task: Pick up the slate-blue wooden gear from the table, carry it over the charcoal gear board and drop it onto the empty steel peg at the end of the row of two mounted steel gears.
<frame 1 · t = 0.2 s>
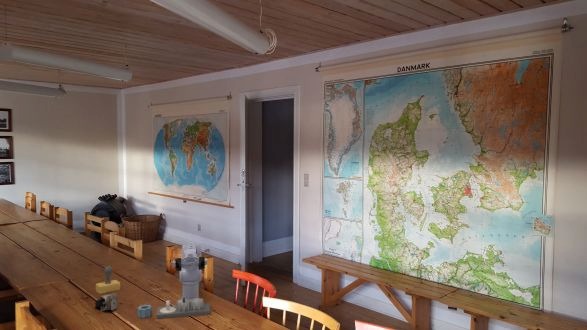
hand: (189, 268, 176), 21 cm above the table, tool horizontal, fingers open, 7 cm apart
rubber stamp: (108, 290, 210), on the table
slate gear: (144, 315, 180), on the table
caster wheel: (105, 308, 187), on the table
gear board: (183, 312, 184), on the table
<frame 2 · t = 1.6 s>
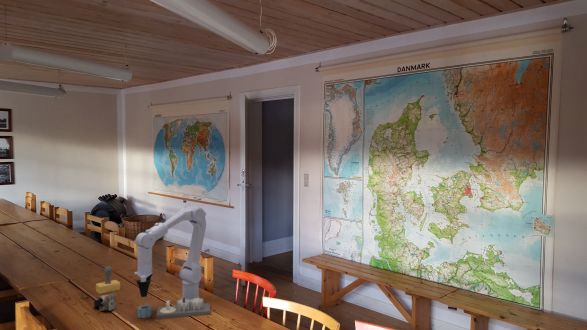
hand: (144, 293, 179), 9 cm above the table, tool pointing down, fingers open, 7 cm apart
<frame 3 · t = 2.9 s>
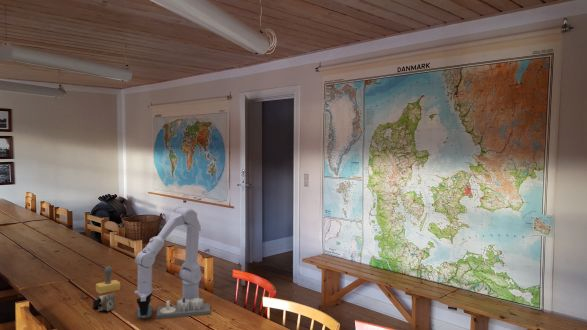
hand: (144, 312, 180), 1 cm above the table, tool pointing down, fingers closed on slate gear, 6 cm apart
slate gear: (144, 315, 180), on the table, touching gripper
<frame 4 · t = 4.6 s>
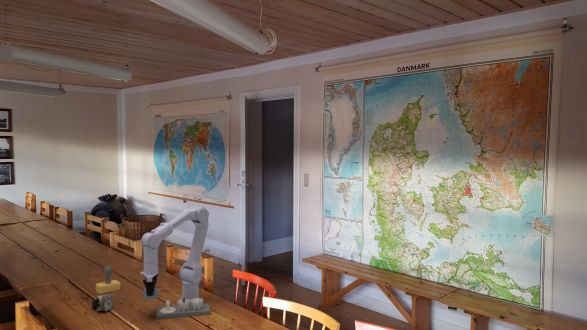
hand: (150, 293, 180), 9 cm above the table, tool pointing down, fingers closed on slate gear, 6 cm apart
slate gear: (150, 296, 180), point 8 cm above the table, touching gripper
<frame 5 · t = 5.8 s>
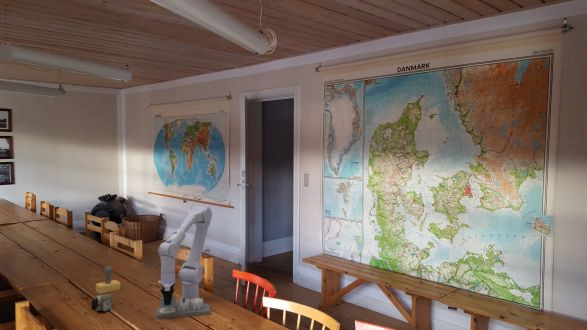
hand: (167, 302, 182), 5 cm above the table, tool pointing down, fingers closed on slate gear, 6 cm apart
slate gear: (167, 305, 182), point 4 cm above the table, touching gripper
when the fingers open (4 cm above the table, at t = 6.6 s): slate gear stays where it is, resting on gear board.
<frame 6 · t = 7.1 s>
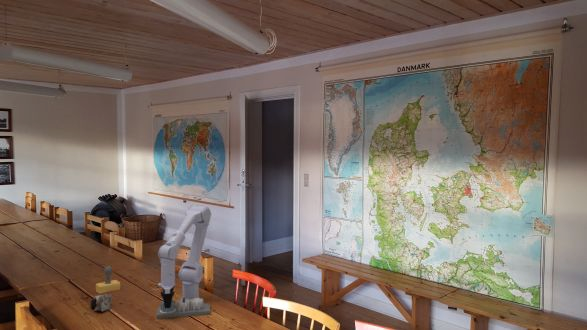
hand: (167, 304, 182), 4 cm above the table, tool pointing down, fingers open, 7 cm apart
slate gear: (167, 309, 182), point 2 cm above the table, touching gear board
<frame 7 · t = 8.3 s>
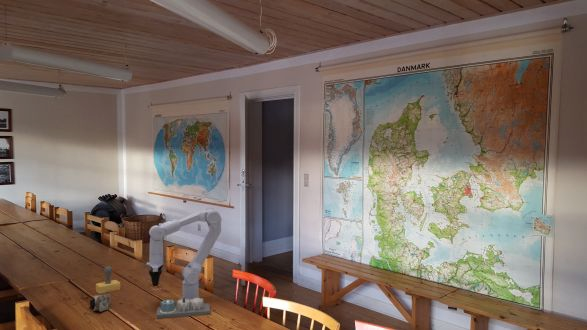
hand: (155, 283, 190), 10 cm above the table, tool pointing down, fingers open, 7 cm apart
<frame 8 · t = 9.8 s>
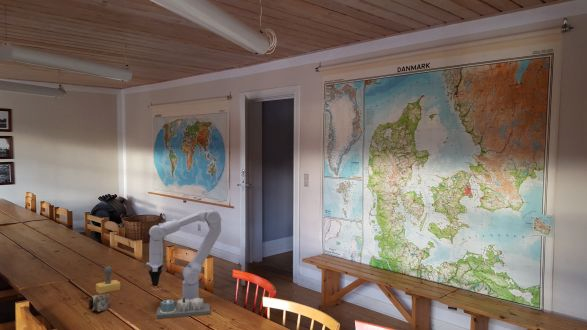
hand: (155, 283, 190), 10 cm above the table, tool pointing down, fingers open, 7 cm apart
at the end: slate gear 0.1 cm from the target spot on the gear board, point 1.6 cm above the gear board's base; slate gear tilted 0°; the gripper is holding nothing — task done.
